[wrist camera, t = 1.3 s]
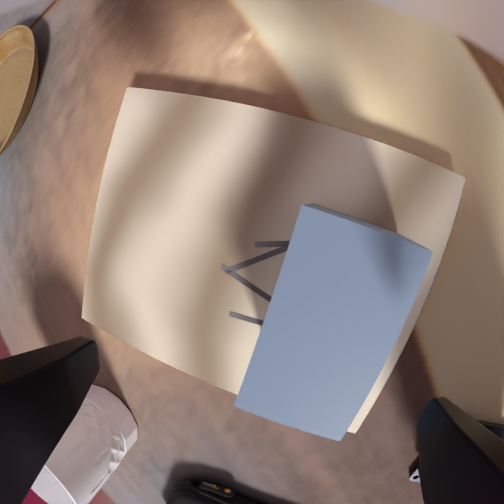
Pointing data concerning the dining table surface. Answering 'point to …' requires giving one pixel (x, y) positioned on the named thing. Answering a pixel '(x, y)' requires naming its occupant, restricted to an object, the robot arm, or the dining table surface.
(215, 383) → the board
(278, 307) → the block
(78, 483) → the white cup
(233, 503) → the carrying case or bag
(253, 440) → the dining table surface
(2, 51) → the plant saucer
